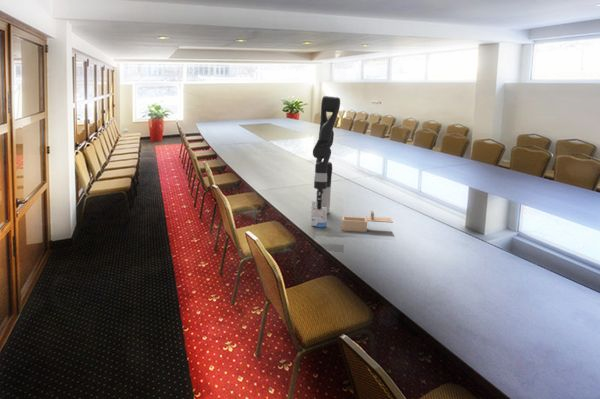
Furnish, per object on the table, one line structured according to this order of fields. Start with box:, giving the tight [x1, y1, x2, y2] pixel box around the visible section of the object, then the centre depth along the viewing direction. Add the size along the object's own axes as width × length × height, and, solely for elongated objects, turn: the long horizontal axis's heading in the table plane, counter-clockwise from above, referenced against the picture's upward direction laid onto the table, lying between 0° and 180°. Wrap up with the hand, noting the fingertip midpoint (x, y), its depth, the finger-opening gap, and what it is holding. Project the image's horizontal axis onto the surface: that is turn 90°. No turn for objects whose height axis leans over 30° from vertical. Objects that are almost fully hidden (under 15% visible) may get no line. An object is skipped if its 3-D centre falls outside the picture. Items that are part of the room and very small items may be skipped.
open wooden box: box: [341, 216, 368, 233], centre depth 236 cm, size 11×14×6 cm
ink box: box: [310, 200, 328, 228], centre depth 240 cm, size 8×5×15 cm, turn 49°
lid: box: [365, 210, 394, 224], centre depth 234 cm, size 11×14×4 cm
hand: (319, 207), depth 239 cm, fingers open, 7 cm apart
